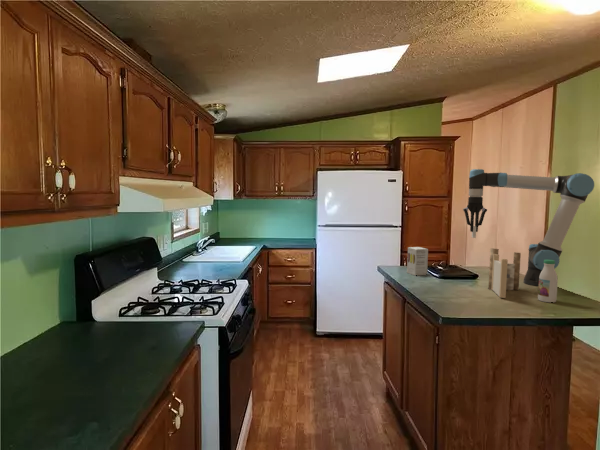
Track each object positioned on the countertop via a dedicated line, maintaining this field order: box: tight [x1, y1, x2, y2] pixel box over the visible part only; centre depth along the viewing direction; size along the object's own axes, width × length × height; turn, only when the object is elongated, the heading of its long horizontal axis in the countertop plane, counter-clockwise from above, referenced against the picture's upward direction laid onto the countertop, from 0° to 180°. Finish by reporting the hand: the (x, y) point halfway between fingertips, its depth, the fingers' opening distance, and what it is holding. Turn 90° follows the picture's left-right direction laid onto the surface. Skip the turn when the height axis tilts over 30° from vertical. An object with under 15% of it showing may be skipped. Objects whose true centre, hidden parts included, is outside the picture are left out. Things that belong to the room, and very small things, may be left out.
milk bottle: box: [537, 260, 559, 303], centre depth 194 cm, size 8×8×20 cm
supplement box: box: [406, 246, 429, 277], centre depth 256 cm, size 10×9×17 cm
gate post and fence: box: [488, 248, 521, 291], centre depth 216 cm, size 16×4×22 cm, turn 91°
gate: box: [491, 253, 510, 299], centre depth 204 cm, size 18×4×19 cm, turn 167°
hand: (473, 237), depth 231 cm, fingers closed
